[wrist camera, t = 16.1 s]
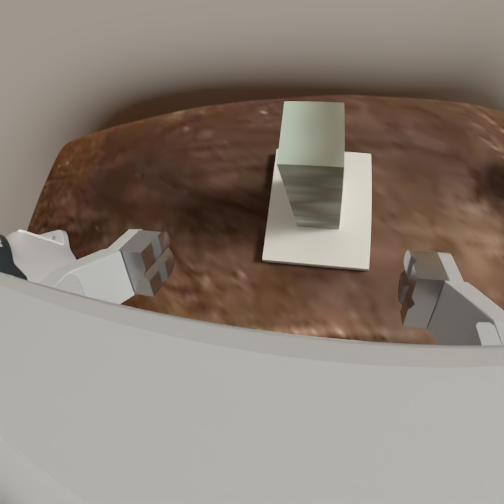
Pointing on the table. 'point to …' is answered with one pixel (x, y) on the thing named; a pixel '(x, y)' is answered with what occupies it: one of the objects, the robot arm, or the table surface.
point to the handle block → (313, 161)
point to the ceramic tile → (324, 239)
